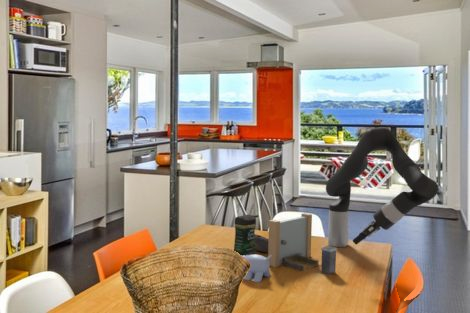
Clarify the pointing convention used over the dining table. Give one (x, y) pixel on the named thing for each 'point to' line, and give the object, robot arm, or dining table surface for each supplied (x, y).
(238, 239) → the coffee jar
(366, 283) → the dining table surface
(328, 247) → the bar
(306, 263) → the keeper
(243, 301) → the dining table surface
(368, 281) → the dining table surface
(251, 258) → the hippopotamus toy
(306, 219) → the door
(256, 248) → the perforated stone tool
